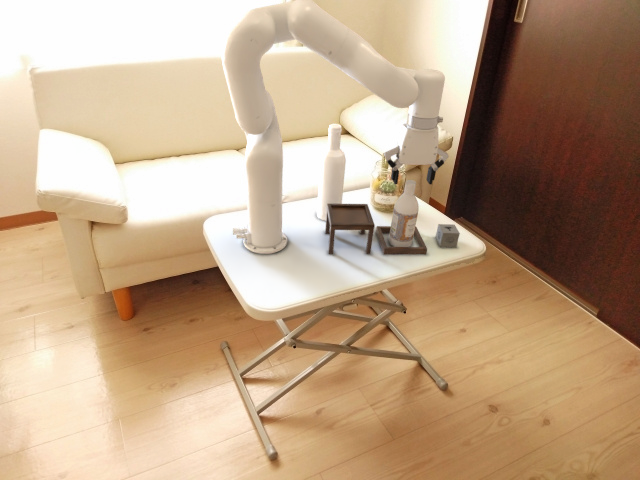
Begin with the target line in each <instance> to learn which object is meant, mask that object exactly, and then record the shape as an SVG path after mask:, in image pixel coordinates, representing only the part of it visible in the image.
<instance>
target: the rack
mask: <svg viewBox="0 0 640 480" xmlns="http://www.w3.org/2000/svg"><path fill="white" fill-rule="evenodd" d="M390 228H391V225H380V226H379V225H376V227H375V222H374V219H373V216H372V213H371V210H370V207H369V204H368V203H342V204H327V214H326V221H325V229H324V230H325V232H324V233H325V235H329V241H328V242H329V243H328V255H334V247H335V238H336V237H335V235H336V234H335V233H336V231H360V232H359V233H360V235H365V234H366V231H368V233H367V239H366V240H367V241H366V247H365V254H366V255H371V253H372V247H373V241H374V232H375V234H376V237H377V240H378V242H379V245H380V249H381V251H382V254H383V255H391V256H392V255H394V256H395V255H398V256H399V255H402V256H403V255H405V256H406V255H409V256H410V255H415V256H416V255H417V256H419V255H420V256H421V255H425V256H426V255H427V252H428V248H427V245H426V243H425V242H424V239H423V237H422V235H421V234H420V231H419V229H418V227H417V225H416V226H415V231H414V236H413V238H414V239H415V241H416V243H417V245H418V246H410V247H394V246H388V245H387V242H386V240H385V237H384V234H390Z"/></svg>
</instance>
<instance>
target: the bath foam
mask: <svg viewBox="0 0 640 480" xmlns="http://www.w3.org/2000/svg"><path fill="white" fill-rule="evenodd" d="M416 186H417V182H416V181H415V180H413V179H407V180H406V181H405V183H404V188H403V192H402V193H401V195H400V196H398V198H397V199H396V200H395V202H394V206H393V211H392V216H391V221H390V222H391V223H390V226H391V228H390V233H389V234H388V235H389V236H388V243H389V244H390V245H391V246H392V247H412V245H413V241H414V231H415V226H416V227H417V225H416V224H417V220H418V215H419V210H420V209H419V206H420V205H419V201H418V199H417V196H416V195H415V192H416Z"/></svg>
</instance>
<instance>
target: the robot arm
mask: <svg viewBox="0 0 640 480" xmlns="http://www.w3.org/2000/svg"><path fill="white" fill-rule="evenodd" d="M295 40H296V41H297V42H298V43H299V44H301V45H303V46H304V47H306V49H309V50H310V51H311V52H313V53H315V54H317V56H319V57H321V58H323V59H324V60H326V62H328V63H329V64H331V65H333V66H334V67H336V68H337V69H339V70H340V71H341V72H342V73H344V74H345V75H346V76H347V77H349V78H350V79H353V80H354V81H356V82H357V83H358V84H360V85H361V86H363V87H364V88H365V89H367V90H368V91H369V92H371V93H372V94H374V95H375V96H377V98H379V99H381V100H382V101H384V102H385V103H387V104H388V105H390V106H392V107H393V108H397V109H406V108H408V110H407V111H408V112H407V118H406V123H404V124H402V127H401V130H400V132H399V137H398V140H397V144H396V147H394V148H391V149H389V150H387V151H385V152H384V153H383V155H384V158H385V160H386V162H387V164H388V166H389V167H390V168H391V174H390V179H391V181H392V182H393V184H394V185H398V182H399V178H400V177H399V176H400V170H399V169H400V168H401V167H402V166H403V165H405V166H406V165H408V166H409V165H411V166H413V165H414V166H422V165H423V166H428V165H430V166H428V168H427V173H426V182H427V183H428V185H433V181H435V178H436V173H437V172H438V170H439V168H441V167H442V166H443V165H445V162H446V161H447V160H448V158H449V157H450V154H449V153H447V152H446V151H445V150H442V149H441V148H439V126H438V125H439V124H440V123H443V122H444V117H443V116H439V114H440V108H441V103H442V99H443V94H444V93H443V92H444V86H445V80H446V77H445V74H444V73H443V72H442V71H440V70H437V69H432V68H431V69H429V68H423V69H414V68H407V67H403V66H396V65H394V64H393V63H392V62H390V61H389V60H388V59H387V58H385V57H384V56H383V55H381V54H380V53H379V52H378V51H377V50H376V49H375V48H374V47H373V46H372V45H371V44H370V43H369V42H368V41H367V40H366V39H365V38H363V37H362V36H361V35H360V34H358V33H357V32H356V31H354V30H353V29H351V28H350V27H348V26H347V25H345V24H344V23H343V22H341V21H340V20H339V19H337V18H336V17H334V16H333V15H331V14H330V13H328V12H327V11H326V10H324V9H323V8H322V7H320V6H319V5H318V4H317V2H316V1H314V0H290V1H286V2H282V3H276V4H271V5H266V6H261V7H256V8H253V9H250V10H248V11H246V13H244V15H243V16H242V18H241V19H240V21H239V22H237V24H236V25H235V26H234V27H233V28H232V29H231V31H230V32H229V33H228V35H227V37H226V38H225V41H224V43H223V46H222V52H221V62H222V63H221V64H222V69H223V73H224V77H225V81H226V84H227V88H228V92H229V93H228V94H229V95H230V96H229V97H230V101H231V104H232V108H233V113H234V116H235V120H236V123H237V125H238V126H239V127H240V129H241V130H242V131H243V132H244V134H245V138H246V141H247V142H246V143H247V144H246V147H245V153H244V154H245V155H244V167H245V169H244V170H245V180H246V182H245V183H246V197H247V200H246V201H247V223H248V224H247V226H246V227H245V226H244V227H243V228H240V227H234V228H232V235H233V236H236V239H239V240H240V239H243V241H242V242H243V245H244V247H245V248H246V249H247V250H248V251H250V252H253V253H255V254H261V255H270V254H275V253H278V252H280V251H282V250H284V248H285V247H286V246H287V245H288V236H287V235H286V234H285V233H284V232H283V171H284V148H283V147H284V146H283V137H282V133H281V129H280V125H279V121H278V117H277V116H278V115H277V112H276V107H275V103H274V100H273V97H272V96H271V94H270V93H269V92H268V91H267V90H266V87H265V83H264V77H263V73H262V69H261V60H262V57H263V56H265V54H267V53H268V52H269V51H270V50H271V49H272V47H273V46H274V45H276V44H281V43H286V42H291V41H295ZM438 155H439V156H440V157H439V158H438V159H437V157H438ZM393 156H395V157H396V159H395V160H392V157H393Z"/></svg>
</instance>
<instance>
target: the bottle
mask: <svg viewBox="0 0 640 480" xmlns="http://www.w3.org/2000/svg"><path fill="white" fill-rule="evenodd" d="M342 127H343V126H342V125H341V124H339V123H331V124H329V126H328V129H327V130H328V139H327V147H326V148H324V150H323V151H321V154H320V157H319V173H318V191H317V192H318V193H317V205H316V216H317V218H318V219H320V221H321V220H322V221H325V222H326V214H327V204H343V197H344V195H343V194H344V183H345V173H346V163H347V162H346V161H347V160H346V159H347V158H346V154H345V153H344V151H343V150H342V148H341V138H342V131H343V130H342Z"/></svg>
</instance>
